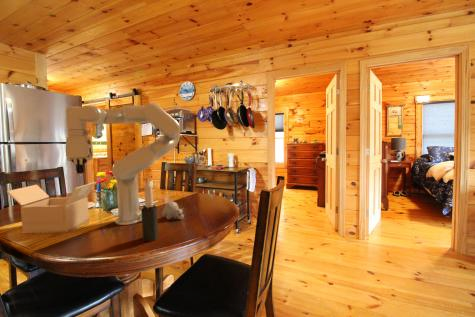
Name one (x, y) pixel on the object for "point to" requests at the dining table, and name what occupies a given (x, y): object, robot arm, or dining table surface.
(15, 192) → the flap
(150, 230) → the candle
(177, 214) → the chubby cartoon animal
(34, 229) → the carton
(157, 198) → the dining table surface
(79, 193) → the flap
